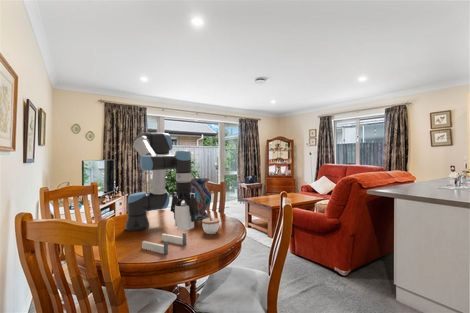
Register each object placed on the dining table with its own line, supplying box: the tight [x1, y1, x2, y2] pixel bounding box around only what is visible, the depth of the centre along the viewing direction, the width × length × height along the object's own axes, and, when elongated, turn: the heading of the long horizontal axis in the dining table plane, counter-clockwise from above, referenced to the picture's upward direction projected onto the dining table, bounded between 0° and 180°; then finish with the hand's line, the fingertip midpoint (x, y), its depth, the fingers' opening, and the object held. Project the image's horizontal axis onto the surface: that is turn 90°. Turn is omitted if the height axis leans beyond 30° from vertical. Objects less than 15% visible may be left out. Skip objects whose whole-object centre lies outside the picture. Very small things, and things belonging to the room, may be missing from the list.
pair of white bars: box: [141, 232, 187, 255], centre depth 126 cm, size 17×16×6 cm
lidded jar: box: [201, 216, 220, 235], centre depth 148 cm, size 11×11×9 cm
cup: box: [175, 202, 190, 232], centre depth 119 cm, size 9×9×12 cm
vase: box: [190, 177, 212, 221], centre depth 187 cm, size 18×18×30 cm
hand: (184, 226), depth 119 cm, fingers closed on cup, 9 cm apart
